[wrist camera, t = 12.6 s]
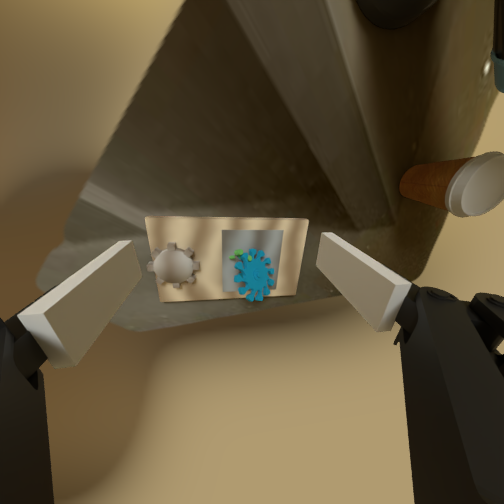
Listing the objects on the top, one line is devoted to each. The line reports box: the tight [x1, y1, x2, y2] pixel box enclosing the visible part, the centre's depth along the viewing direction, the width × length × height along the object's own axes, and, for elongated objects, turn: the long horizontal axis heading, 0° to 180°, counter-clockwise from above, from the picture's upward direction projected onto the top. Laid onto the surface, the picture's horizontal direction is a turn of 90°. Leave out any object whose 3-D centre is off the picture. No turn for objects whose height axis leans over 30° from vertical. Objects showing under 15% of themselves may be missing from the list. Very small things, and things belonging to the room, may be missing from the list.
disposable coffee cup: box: [399, 152, 504, 217], centre depth 33 cm, size 10×10×12 cm
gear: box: [229, 248, 274, 302], centre depth 36 cm, size 11×6×10 cm
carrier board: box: [145, 216, 309, 302], centre depth 38 cm, size 31×18×3 cm, turn 87°
